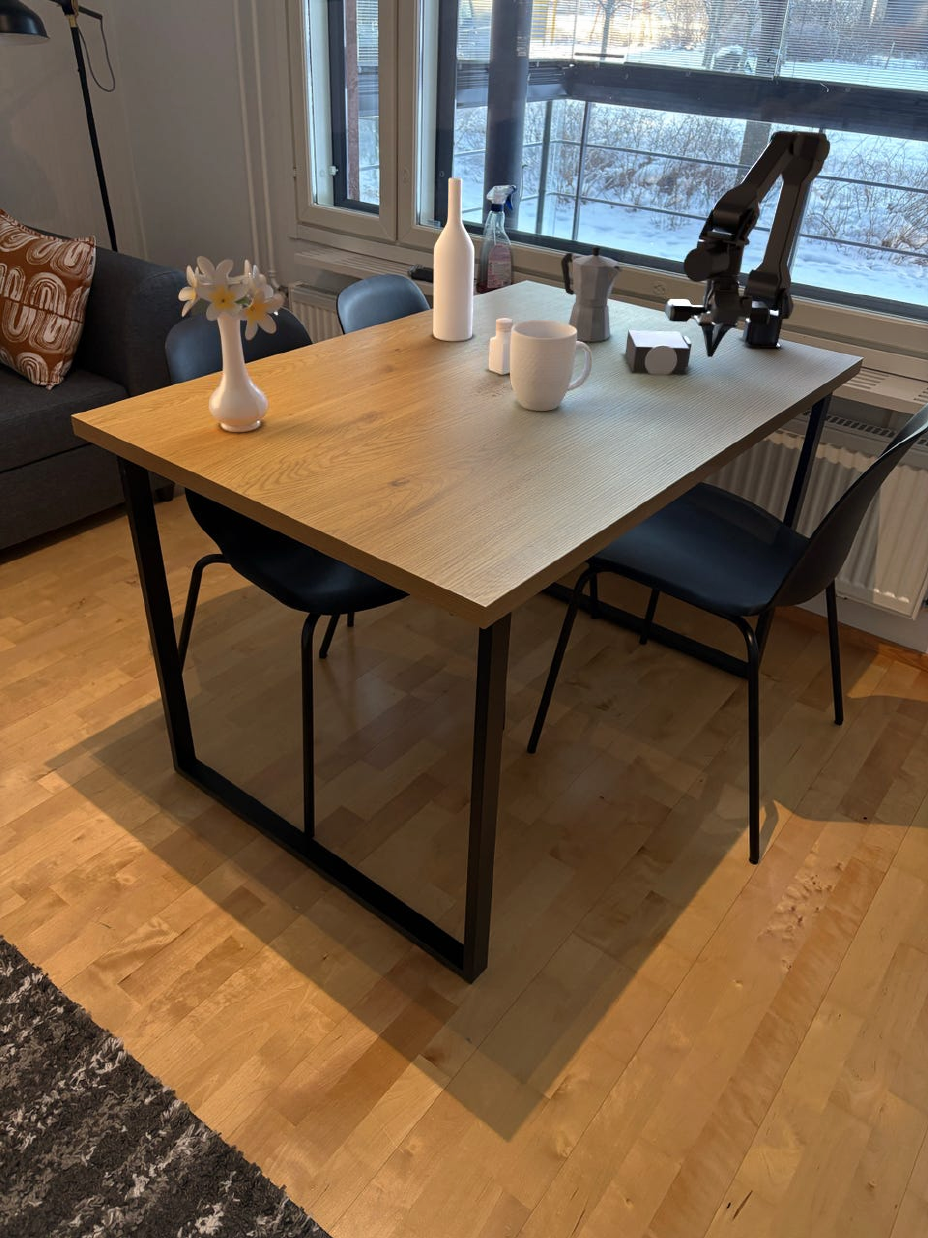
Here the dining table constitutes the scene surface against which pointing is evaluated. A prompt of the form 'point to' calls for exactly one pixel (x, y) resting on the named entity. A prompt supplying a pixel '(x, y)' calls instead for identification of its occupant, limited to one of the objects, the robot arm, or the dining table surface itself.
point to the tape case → (656, 352)
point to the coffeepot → (590, 293)
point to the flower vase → (234, 336)
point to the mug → (544, 363)
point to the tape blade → (688, 346)
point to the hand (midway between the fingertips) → (709, 356)
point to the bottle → (453, 273)
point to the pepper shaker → (501, 347)
